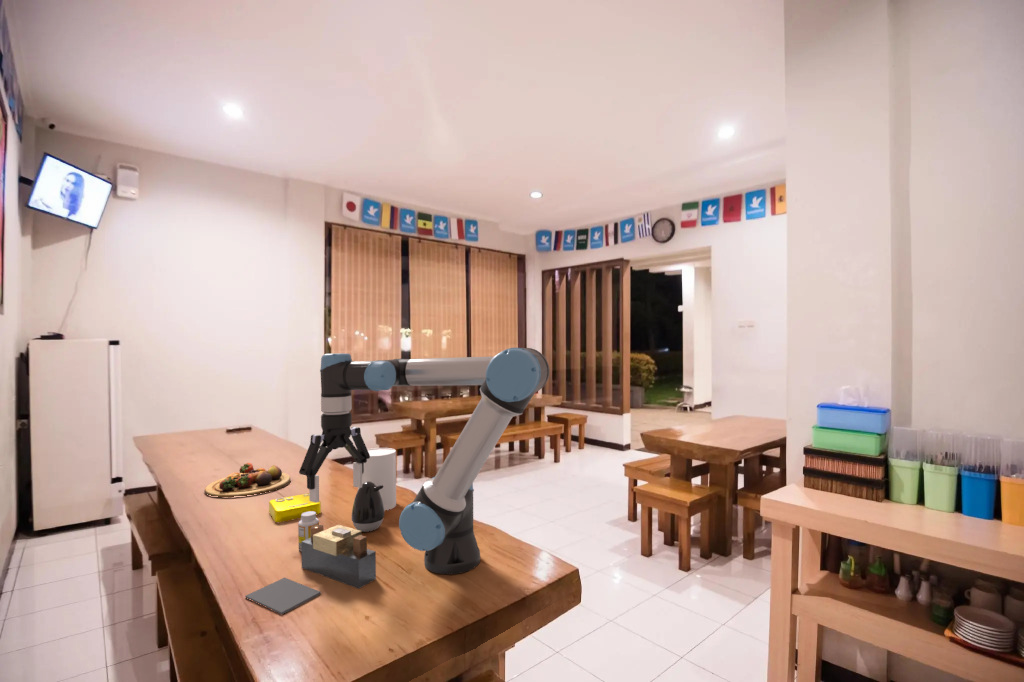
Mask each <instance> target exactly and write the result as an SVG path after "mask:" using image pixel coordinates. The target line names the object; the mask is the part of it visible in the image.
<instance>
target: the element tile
mask: <svg viewBox="0 0 1024 682" xmlns="http://www.w3.org/2000/svg"><path fill="white" fill-rule="evenodd" d="M321 503H322V502H321V501H320V500H319V502H317V503H316V502H312V501H310V496H309V493H303V494H301V493H300V494H297V495H291V496H286V497H285V496H284V497H278V498H275V499H274V498H273V499H270V500H269V502H268V513H269V512H270V513H269V515H270V514H271V515H270V516H272V517H271V518H272V520H273V522H274V521H275V522H274V523H277V522H279V523H284V522H283V521H285V522H289V521H288V520H290V521H294V520H293V519H295V520H298V519H297V518H300V519H301V514H302V513H305V512H309V511H314V512H316V514H318V515H320V514H321V512H322V509H321V508H322V506H321V505H322V504H321ZM319 513H320V514H319Z"/></svg>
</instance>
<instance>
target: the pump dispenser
mask: <svg viewBox="0 0 1024 682" xmlns="http://www.w3.org/2000/svg"><path fill="white" fill-rule="evenodd" d="M382 488H383V485H380V486H376V485H375V484H374V483H373V482H365V483H363V484H362V487H361V488H359V489H358V488H357V491H356V493H355V497H354V501H353V504H352V508H351V521H352V524H353V526H354V529H356V530H360V531H362V532H363V533H370V532H373V530H374V531H375V530H378V529H379V528H380V527H381V526H382V524H383V521H384V518H385V511H384V506H383V501H382V498H381V495H380V492H379V490H380V489H382ZM369 531H370V532H369Z"/></svg>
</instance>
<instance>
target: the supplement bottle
mask: <svg viewBox="0 0 1024 682" xmlns="http://www.w3.org/2000/svg"><path fill="white" fill-rule="evenodd" d="M314 525H320V519H319V518H317V515H316V512H314V511H309V512H305V513H302V514H301V518H300V520H299V521H298V525H297V526H298V527H297V528H298V530H297V532H298V533H297V534H298V535H297V536H298V550H299V551H300V552H302V546H301V542H302V541H304V540H307V539H309V538H311V527H312V526H314Z"/></svg>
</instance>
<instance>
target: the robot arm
mask: <svg viewBox="0 0 1024 682" xmlns="http://www.w3.org/2000/svg"><path fill="white" fill-rule="evenodd" d="M319 373H320V387H321V389H320V390H321V393H320V407H321V408H320V410H321V411H320V412H322V414H321V415H320V426H321V430H322V432H321V434H311V435H310V441H309V442H310V443H309V446H308V448H307V451H306V453H305V456H304V459H303V461H302V464H301V466H300V468H299V471H298V473H299V475H302V476H303V475H304V476H306V488H307V489H308V490H309V496H310V501H312V502H316V503H317V502H319V501H320V476H319V474H318V472H319V470H320V469H321V467H322V465H323V463H324V462H325V460H326V459H327V457H328V455H329V454H330V453H331V452H332V451H333V450H338V449H339V448H340V449H341V448H343V449H345V450H346V451H347V452H348V454H349V455H350V456H351V458H353V459H354V462H352V476H353V477H352V478H353V480H352V481H353V483H352V485H353V487H354V488H357V489H358V488H361V487H362V474H363V473H364V463H366V462H367V459H369V458H370V455H369V452H368V450H367V449H368V448H367V446H366V444H365V441H364V438H363V437H362V434H361V433H362V432H361V428H360V427H358V426H357V427H356V426H352V424H353V422H352V421H353V420H352V419H353V417H352V415H353V414H352V412H351V410H352V408H353V406H352V404H353V403H352V402H353V401H352V391H355V390H356V391H373V392H379V391H389V390H391V389H392V387H393V388H394V387H410V386H420V387H421V386H480V388H479V391H480V396H481V398H480V400H479V401H478V403H477V405H476V407H475V408H474V410H473V412H472V414H471V415H470V417H469V419H468V420H467V422H466V424H465V425H464V427H463V429H462V431H461V432H460V434H459V436H458V438H457V439H456V440H455V443H454V444H453V446H452V448H451V449H450V451H449V452H448V454H447V456H446V458H445V460H444V461H443V463H442V464H441V466H440V468H439V469H438V471H437V473H436V474H435V476H433V477H432V478H430V479H426V480H425V481H424V482H423V484H422V485H421V487H420V490H419V491H418V492H417V494H416V496H415V498H414V499H413V501H412V502H410V503H409V504H407V505H406V506H405V507H404V508H403V510H402V511H401V513H400V515H399V518H398V519H399V520H398V528H399V531H400V535H401V537H402V538H403V540H404V541H405V543H406V544H407V545H408V546H410V547H411V548H413V549H415V550H417V551H420V552H424V556H423V557H424V560H423V561H424V567H425V568H426V569H427V570H428V571H430V572H432V573H435V574H440V575H455V574H462V573H466V572H468V571H471V570H473V569H475V568H476V567H477V566H478V565H479V564H480V563H481V551H480V548H479V545H478V542H477V539H476V535H475V533H474V532H475V531H474V491H475V489H474V485H473V483H474V481H475V480H476V479H477V477H478V476H479V474H480V471H481V470H482V468H483V467H484V465H485V463H486V461H488V459H489V457H490V455H491V453H492V452H493V450H494V448H495V447H496V445H497V444H498V442H499V440H500V438H501V437H502V435H503V434H504V432H505V430H506V429H507V427H508V425H509V424H510V422H511V420H512V419H513V417H515V416H521V415H523V414H524V412H525V410H526V408H527V407H528V405H529V404H530V402H531V400H532V399H533V397H534V395H535V394H536V393H537V392H539V391H540V390H541V389H543V388H544V387H545V386H546V384H547V382H548V380H549V377H550V373H551V372H550V364H549V362H548V360H547V358H546V356H545V355H544V354H543V353H542V352H541V351H539V350H537V349H534V348H532V347H510V348H506V349H503V350H502V351H500V352H499V353H497V354H496V355H494V356H471V357H470V356H468V357H467V356H466V357H465V356H462V357H461V356H460V357H431V358H430V357H425V358H394V359H393V358H392V359H383V360H382V359H381V360H378V359H377V360H352V355H351V354H350V353H345V352H344V353H339V352H338V353H325V354H323V355H321V359H320V369H319ZM350 437H351V438H350ZM351 439H352V440H351Z"/></svg>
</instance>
